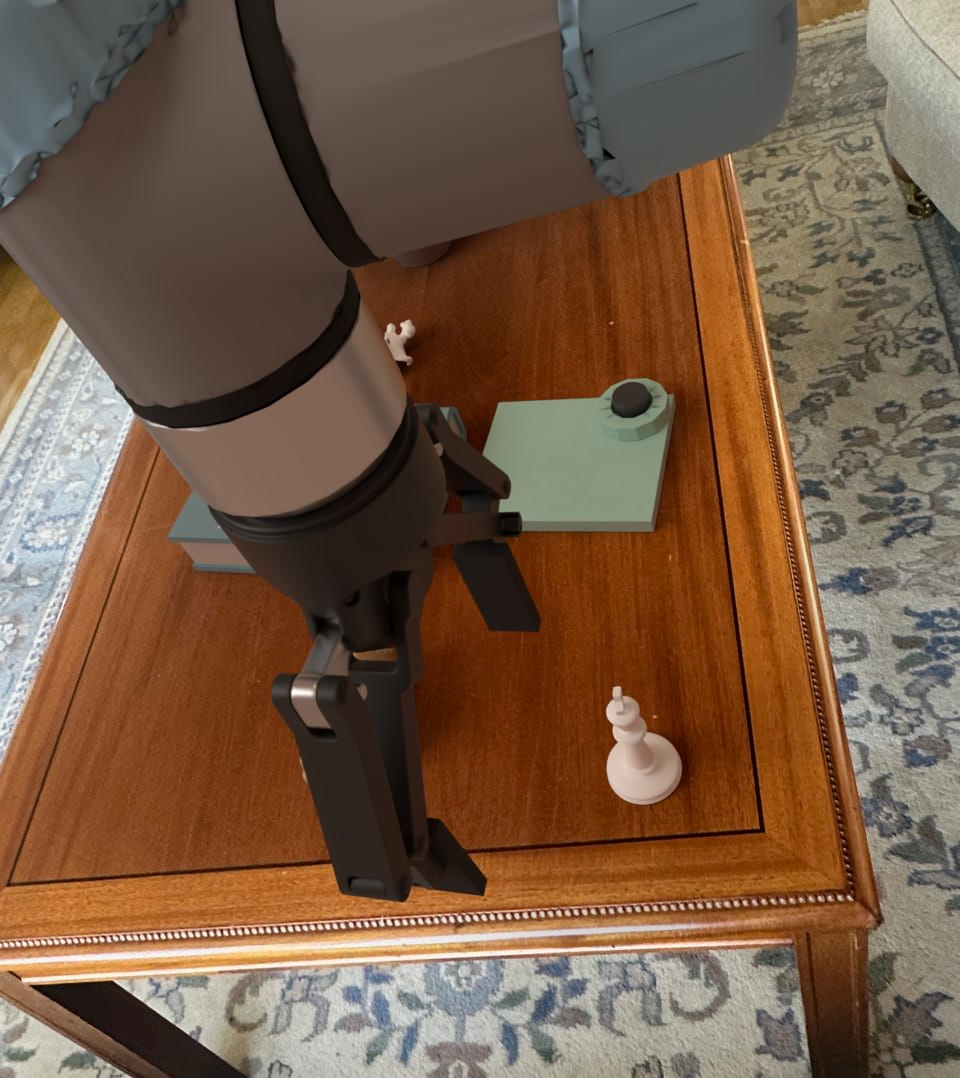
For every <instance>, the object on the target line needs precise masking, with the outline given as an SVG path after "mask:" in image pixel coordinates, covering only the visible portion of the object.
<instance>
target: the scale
mask: <svg viewBox="0 0 960 1078" xmlns="http://www.w3.org/2000/svg"><path fill="white" fill-rule="evenodd" d="M628 382H639V383H642V384H643V385H645V386H646V388H647V390H648V395H649V399H650V406H649V408H648V410H647V411H646V412H645V413H644V414H642V415H639V416H637V417H635V418H623V417H621V416H619V415H618V414H617V413H616V412H615V409H614V405H613V401H612V394H613V392H614V390H615V389H616V388H617V387H619V386H620V385H622V384H624V383H628ZM676 407H677V405H676V399H675V394H674V393H670V394H668V393H667V391H666V390H665V389H664V387H663V385H662V384H661V383H660V382H658V381H655V380H652V379H649V378H647V377H645V378H641V377H640V378H626V379H624V380H622V381H620V382H617V383H614V384H613V385H611V386H609V388H607V389H606V390H605V391H604V392H603V393H602V394H601V395H600V397H585V398H566V399H565V398H563V399H562V398H561V399H542V400H541V399H540V400H539V399H538V400H521V401H520V400H519V401H501V402H500V401H498V404H497V407H496V410H495V412H494V413H495V414H494V416H493V420H492V423H491V426H490V430H489V432H488V434H487V439H486V442H485V444H484V445H485V446H484V448H483V451H482V453H481V454H482V455H483V456H485V457H486V458H487V459H488V460H490V461H491V462H492V463H493V464H495V465H496V466H497V467H498V468H500V469H501V470H502V471H503V472H505V473H506V474H507V475H508V476H509V479H510V481H511V492H510V496H509V498H508V499H501V500H500V505H499V512H520V514H521V517H522V532H589V533H591V532H595V533H596V532H597V533H598V532H601V533H605V532H608V533H612V532H613V533H614V532H616V533H617V532H618V533H621V532H623V533H624V532H626V533H646V532H647V533H654V532H655V530H656V525H657V519H658V513H659V507H660V501H661V495H662V490H663V484H664V483H663V482H664V477H665V471H666V465H667V460H668V453H669V448H670V442H671V437H672V432H673V431H672V430H673V425H674V418H675V412H676Z"/></svg>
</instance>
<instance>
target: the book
mask: <svg viewBox="0 0 960 1078" xmlns="http://www.w3.org/2000/svg"><path fill="white" fill-rule="evenodd" d="M439 407H440V406H439ZM440 409H441V411H442V413H443V414H444V416H445V418H446V420H447V422H448V424H449V425H450V427H451V429H452V431H453V432H454V433H456V434H457V435H458V436H459V437H461V438H462V439H463V440H464V441H466V442H467V443H468V439H467V438H468V436H467V435H468V433H467V432H468V431H467V430H466V426H465V424H464V422H463V421H462V418H461V416H460V414H459V411H458V409H457V406H443V407H442V406H441V407H440ZM450 496H451V495H450V494H448V493H446V492H445V499H444V503H443V507H442V510H441V513H440V514H444V511H445V508H446V506H447V503H448V500H449V497H450ZM166 537H167V539H168V540H169V541H170V542H172V543H178V544H179V545H180V546H181V548H182V549H183V550H184V551H185V552H186V554H187V555H188V557H190V559H192V561H193V562H192V565H191V567H192V569H193V570H194V571H196V572H215V573H237V574H255V575H256V574H257V573H256V572H255V571H254V570H253V569H252V567H251V566H250V565H249V563H248V562H247V561H246V559H245V558H244V557H243V556H242V554H241V553H240V552H239V550H238V549H237V548H236V547H235V545H234V544H233V543H232V541H231V540H230V539H229V537H228V536H227V535H226V534H225V532H224V531H223V530H222V528H221V527H220V526H219V525H218V523H217V522H216V521H215V519H214V518H213V516H212V514H211V513H210V511H209V508H208V505H207V503H206V502H204V501H203V500H202V499H200V498H199V497H198V496H197V495H196V494H195V492H194V491H193V490H191V492H190V494H189V496H188V497H187V500H186V501H185V503H184V505H183V507H182V509H181V511H180V512H179V514H178V516H177V518H176V520H175V522H174V523H173V525H172V527H171V529H170V530H169V532H168V534H167V536H166ZM257 575H258V574H257Z"/></svg>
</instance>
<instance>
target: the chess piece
mask: <svg viewBox="0 0 960 1078" xmlns="http://www.w3.org/2000/svg"><path fill="white" fill-rule="evenodd" d="M611 692H612V699H611V700H610V701H609V703H608V704H607V706H606V709H605V714H606V718H607V720H608V722H610V723H611V724H612V736H613V738H614V740H615V741H616V744H615V745H614V746H613V747H612V748H611V751H610V752H609V754H608V757H607V760H606V776H607V780H608V783H609V785H610V788H611V789H612V790H613V791H614V793H615V794H616V795H617V796H618V797H619V798H621V799H622V800H624V801H626V802H627V803H630V804H635V805H642V806H643V805H644V806H645V805H652V804H655V803H659V802H660V801H664V799H666V798H667V797H669V796H670V795H671V794H672V793H673V792H674V791H675V790H676V788H677V787H678V785H679V783H680V781H681V779H682V772H683V765H682V759H681V757H680V754H679V752H678V751H677V749H676V748H675V747H674V745H673V743H671V741H669V740H668V739H667V738H665V737H663V736H662V735H659V734H657V733H654V732H648V726H647V723H646V721H645V720H644V718H642V717H641V716H640V706H639V703H638V702H637V700H636V699H634V698H632V697H631V696H628V695H623V690H622V687H621V685H619V686H613V687H612V691H611Z"/></svg>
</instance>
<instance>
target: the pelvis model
mask: <svg viewBox="0 0 960 1078" xmlns="http://www.w3.org/2000/svg"><path fill="white" fill-rule="evenodd" d="M399 327H400V328H401V333H400V334H397V333H396V328H397V327H396V326H395V324H394V323H393V322H389V324H387V327H386V332H384V335H383V336H384V339H385V341H386V343H387V345H388V347H389V349H390V351H391V353H392V355H393V357H394V359H395V361H396V362H406V366H407V367H408V366H409V367H410V366H411V365H412V364H413V357H411V356H408V355H407V354H406V350H405V347H404V346H405V344H406V342H407V340H408V339H412V338H413V336H414V335H415V334H416V327H415V326H414V325H413V321H412V320H411V319H407V320H405V321H402V322H400V324H399Z"/></svg>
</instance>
